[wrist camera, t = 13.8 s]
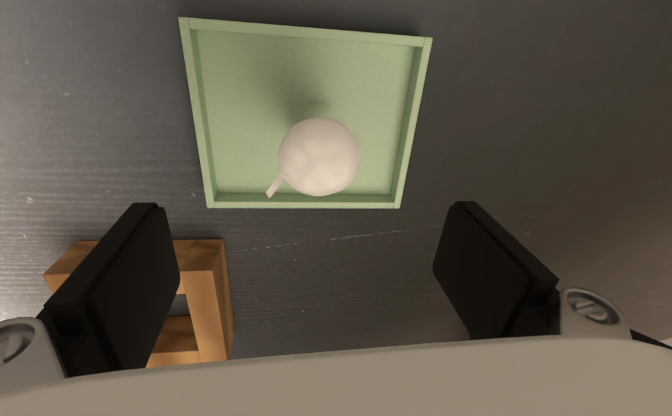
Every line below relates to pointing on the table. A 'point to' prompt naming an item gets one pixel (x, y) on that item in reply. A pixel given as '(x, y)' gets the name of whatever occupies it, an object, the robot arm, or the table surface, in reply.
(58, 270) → the holder
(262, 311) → the table surface
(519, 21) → the table surface
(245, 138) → the tray
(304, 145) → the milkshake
